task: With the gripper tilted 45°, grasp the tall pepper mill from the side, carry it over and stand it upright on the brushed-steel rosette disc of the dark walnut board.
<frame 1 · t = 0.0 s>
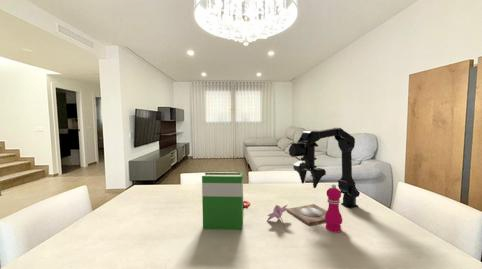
hand: (308, 185, 116), 15 cm above the table, tool pointing down, fingers open, 9 cm apart
hardback book: (223, 226, 104), on the table
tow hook: (242, 205, 130), on the table
rosette board: (311, 214, 115), on the table
pepper mill: (333, 229, 100), on the table
lily: (278, 223, 107), on the table
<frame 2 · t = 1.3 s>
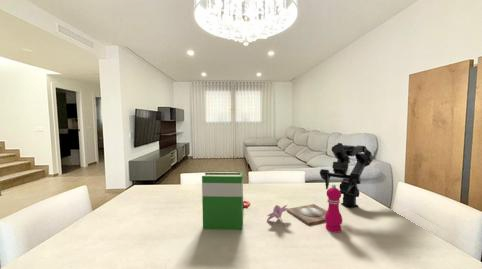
hand: (336, 190, 110), 14 cm above the table, tool tilted 45°, fingers open, 9 cm apart
nothing on the table moved.
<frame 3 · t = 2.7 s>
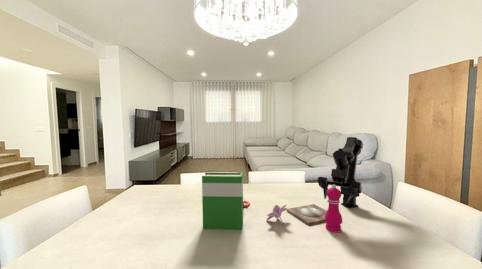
hand: (335, 200, 102), 12 cm above the table, tool tilted 45°, fingers open, 9 cm apart
nothing on the table moved.
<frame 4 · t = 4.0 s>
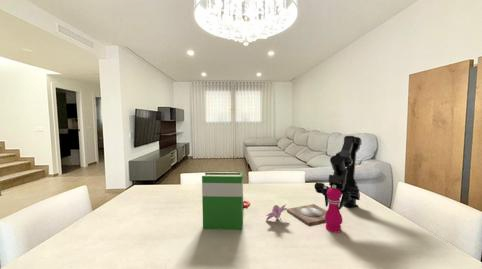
hand: (332, 207, 98), 10 cm above the table, tool tilted 45°, fingers closed on pepper mill, 5 cm apart
pepper mill: (333, 229, 100), on the table, touching gripper
everything else where it was.
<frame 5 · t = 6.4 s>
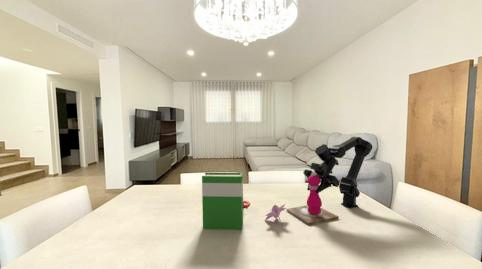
hand: (312, 191, 111), 13 cm above the table, tool tilted 45°, fingers closed on pepper mill, 5 cm apart
pepper mill: (314, 212, 113), point 2 cm above the table, touching gripper
when the fingers open (12 cm above the table, at t = 7.5 s): pepper mill stays where it is, resting on rosette board.
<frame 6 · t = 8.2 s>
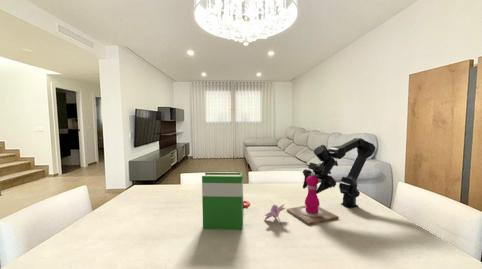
hand: (309, 190, 114), 13 cm above the table, tool tilted 45°, fingers open, 9 cm apart
pepper mill: (311, 211, 115), point 1 cm above the table, touching rosette board
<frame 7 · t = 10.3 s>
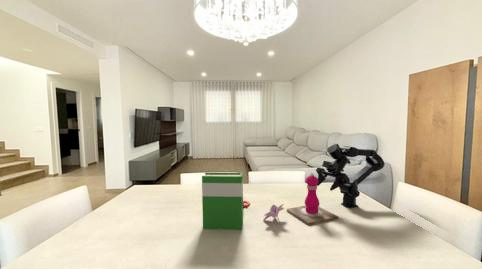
hand: (323, 187, 118), 13 cm above the table, tool tilted 45°, fingers open, 9 cm apart
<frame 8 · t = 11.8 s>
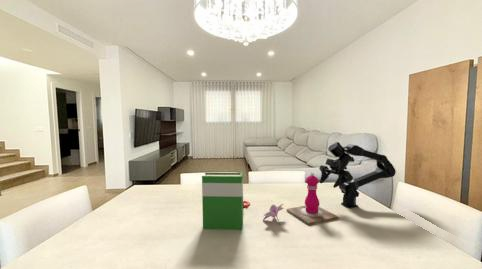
hand: (326, 185, 120), 14 cm above the table, tool tilted 45°, fingers open, 9 cm apart
at the end: pepper mill 0.4 cm off-centre on the rosette board, point 1.4 cm above the rosette board's base; pepper mill tilted 0°; the gripper is holding nothing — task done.
